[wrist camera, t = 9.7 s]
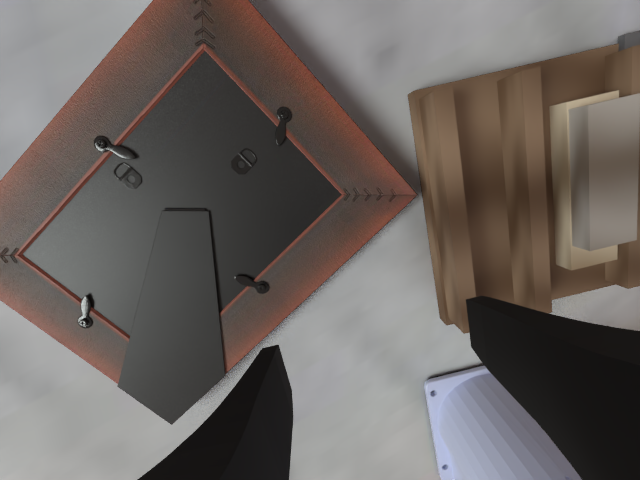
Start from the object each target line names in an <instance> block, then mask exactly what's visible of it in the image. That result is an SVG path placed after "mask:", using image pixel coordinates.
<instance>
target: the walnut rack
mask: <svg viewBox="0 0 640 480" xmlns="http://www.w3.org/2000/svg"><path fill="white" fill-rule="evenodd" d="M617 90H619V98H620V97H625V96H629V95H634V94H639V93H640V45H637V46H632V47H630V48H627V49H624V50H621V51H619V44H614V45H610V46H606V47H601V48H597V49H593V50H589V51H584V52H580V53H576V54H571V55H567V56H563V57H558V58H554V59H550V60H545V61H541V62H537V63H532V64H528V65H524V66H519V67H515V68H511V69H506V70H502V71H498V72H493V73H489V74H485V75H480V76H476V77H472V78H468V79H463V80H459V81H455V82H450V83H446V84H442V85H437V86H433V87H429V88H424V89H420V90H416V91H413V92H411V93H410V94H408V100H409V107H410V114H411V120H412V127H413V134H414V141H415V148H416V155H417V162H418V169H419V176H420V183H421V190H422V196H423V203H424V210H425V217H426V224H427V231H428V238H429V245H430V252H431V259H432V265H433V272H434V279H435V286H436V293H437V300H438V307H439V314H440V319H441V320H442V321H443V322H444V323H445V324H446V325H450V324H455V325H456V326H457V327H458V328H459V329H460V330H461V331H462V332H463V333H464V334H465V333H469V332H470V331H469V323H468V315H467V306H466V299H469V298H474V297H478V296H486V297H491V298H495V299H499V300H502V301H506V302H509V303H513V304H516V305H520V306H523V307H527V308H530V309H534V310H537V311H541V312H545V313H551V312H552V300H553V299H558V298H562V297H566V296H570V295H574V294H578V293H582V292H586V291H591V290H595V289H599V288H603V287H607V286H611V285H615V284H617V285H619V286H622V287H625V288H627V289H629V288H633V287H637V286H640V131H639V171H638V211H637V240H635V241H631V242H626V243H622V244H618V254H617V260H613V261H609V262H604V263H600V264H596V265H592V266H588V267H584V268H580V269H575V270H569V269H566V268H564V267H561V266H558V265H556V254H555V230H554V206H553V182H552V158H551V134H550V110H549V106H553V105H557V104H561V103H565V102H570V101H574V100H578V99H583V98H587V97H591V96H595V95H600V94H604V93H608V92H612V91H617Z"/></svg>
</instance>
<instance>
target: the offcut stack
mask: <svg viewBox="0 0 640 480" xmlns="http://www.w3.org/2000/svg"><path fill="white" fill-rule="evenodd" d="M549 110H550V134H551V158H552V182H553V206H554V230H555V254H556V265H558V266H561V267H564V268H566V269H569V270H575V269H580V268H584V267H588V266H592V265H596V264H600V263H604V262H609V261H613V260H617V254H618V244H622V243H626V242H631V241H635V240H637V211H638V171H639V131H640V93H639V94H634V95H629V96H625V97H620V98H619V90H617V91H612V92H608V93H604V94H600V95H595V96H591V97H587V98H583V99H578V100H574V101H570V102H565V103H561V104H557V105H553V106H549Z"/></svg>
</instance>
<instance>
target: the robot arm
mask: <svg viewBox="0 0 640 480" xmlns="http://www.w3.org/2000/svg"><path fill="white" fill-rule="evenodd" d="M466 306H467V315H468V323H469V331H470V340H471V347H472V348H473V350H474V351H475V353H476V354H477V356H478V357H479V359H480V360H481V361H482V363H483V364H484V365H485V366H480V367H476V368H472V369H468V370H464V371H460V372H456V373H452V374H448V375H444V376H440V377H435V378H431V379H428V380H427V381H426V382H425V383H424V388H425V394H426V400H427V406H428V412H429V418H430V424H431V430H432V436H433V442H434V448H435V453H436V459H437V465H438V471H439V475H440V477H441V479H442V480H454V479H455V480H640V331H634V330H627V329H621V328H614V327H609V326H603V325H598V324H592V323H587V322H582V321H578V320H573V319H569V318H565V317H561V316H556V315H552V314H549V313H545V312H541V311H537V310H534V309H530V308H527V307H523V306H520V305H516V304H513V303H509V302H506V301H502V300H499V299H495V298H491V297H486V296H478V297H474V298H469V299H466ZM433 390H435V391H434V392H432V393H430V392H431V391H433ZM292 428H293V403H292V390H291V386H290V383H289V379H288V376H287V372H286V369H285V366H284V362H283V359H282V355H281V352H280V349H279V345H275V346H271V347H267V348H262V350H261V351H260V352H259V354H258V355H257V357H256V358H255V359H254V361H253V362H252V364H251V365H250V367H249V368H248V369H247V371H246V372H245V374H244V375H243V376H242V378H241V379H240V380H239V382H238V383H237V384H236V386H235V387H234V388H233V389H232V391H231V392H230V393H229V394H228V396H227V397H226V398H225V399H224V401H223V402H222V403H221V404H220V405H219V407H218V408H217V409H216V410H215V411H214V412H213V413H212V414H211V415H210V417H209V418H208V419H207V420H206V421H205V422H204V423H203V424H202V425H201V426H200V427H199V428H198V429H197V430H196V431H195V432H194V433H193V434H192V435H190V436H189V437H188V438H187V439H186V440H185V441H184V442H183V443H182V444H180V445H179V446H178V447H177V448H176V449H175V450H174V451H173V452H172V453H171V454H169V455H168V456H167V457H166V458H165V459H163V460H162V461H161V462H160V463H158V464H157V465H156V466H155V467H154V468H152V469H151V470H150V471H148V472H147V473H146V474H144V475H143V476H142V477H141V478H139V479H138V480H289V470H290V456H291V442H292Z"/></svg>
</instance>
